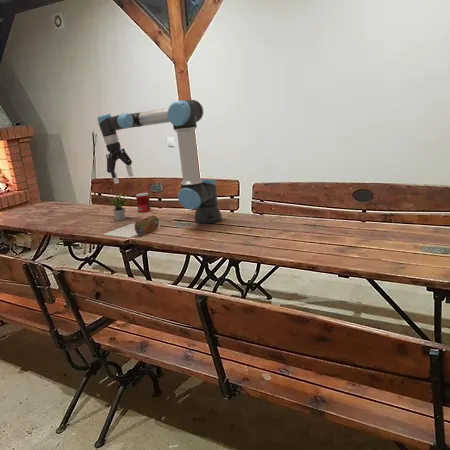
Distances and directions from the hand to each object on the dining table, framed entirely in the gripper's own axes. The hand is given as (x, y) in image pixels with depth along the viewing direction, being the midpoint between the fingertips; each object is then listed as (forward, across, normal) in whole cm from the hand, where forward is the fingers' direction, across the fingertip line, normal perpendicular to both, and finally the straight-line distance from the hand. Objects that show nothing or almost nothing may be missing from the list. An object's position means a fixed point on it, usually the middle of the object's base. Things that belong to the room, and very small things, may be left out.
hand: (124, 179), depth 257 cm
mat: (+24, +19, +9) cm, 32 cm away
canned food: (+26, -22, -11) cm, 36 cm away
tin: (+26, +20, +20) cm, 39 cm away
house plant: (+24, -1, -14) cm, 27 cm away
